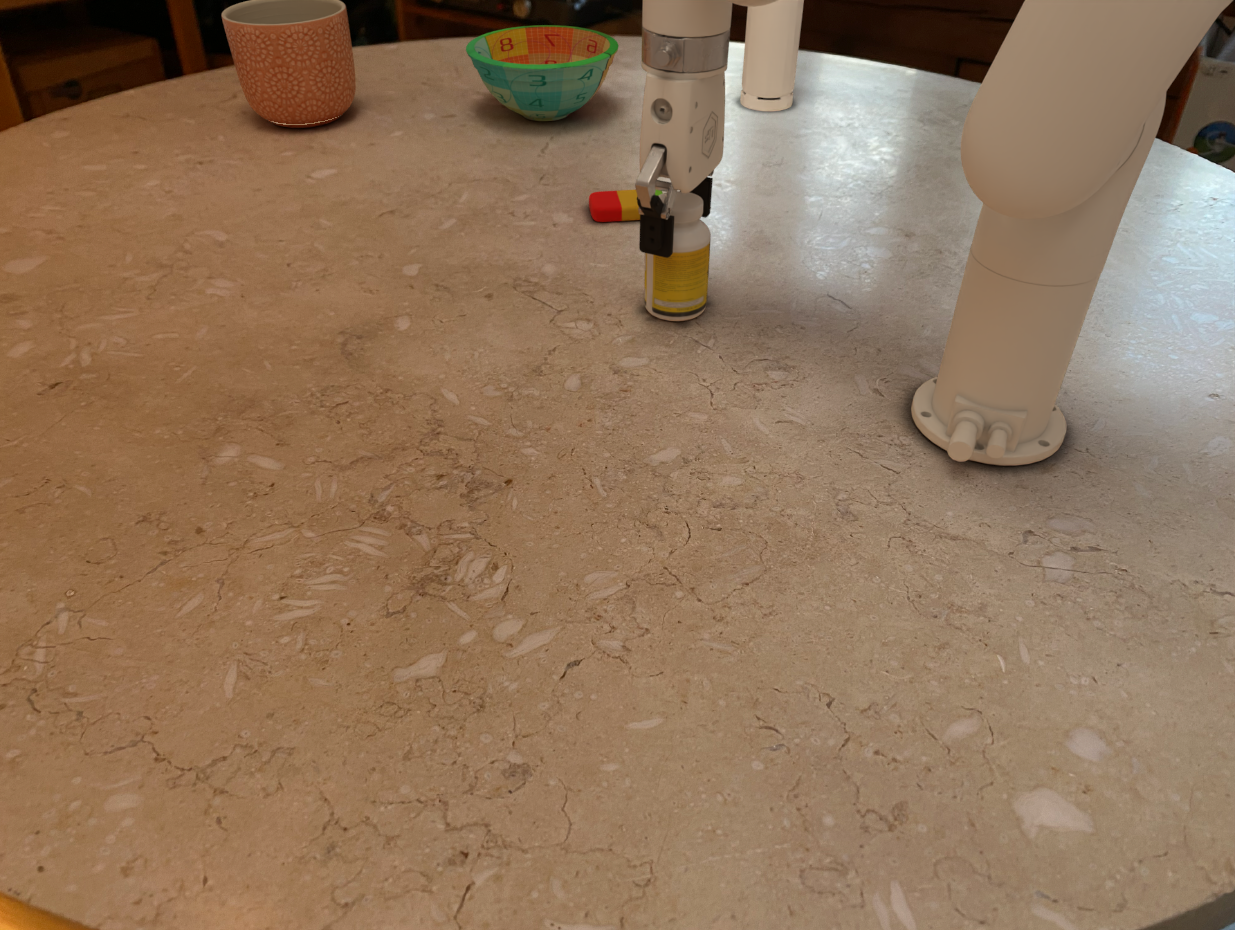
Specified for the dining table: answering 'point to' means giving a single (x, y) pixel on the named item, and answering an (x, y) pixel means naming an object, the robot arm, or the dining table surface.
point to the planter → (293, 58)
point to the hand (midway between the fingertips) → (675, 233)
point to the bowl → (543, 67)
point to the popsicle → (615, 205)
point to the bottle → (771, 55)
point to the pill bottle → (680, 265)
